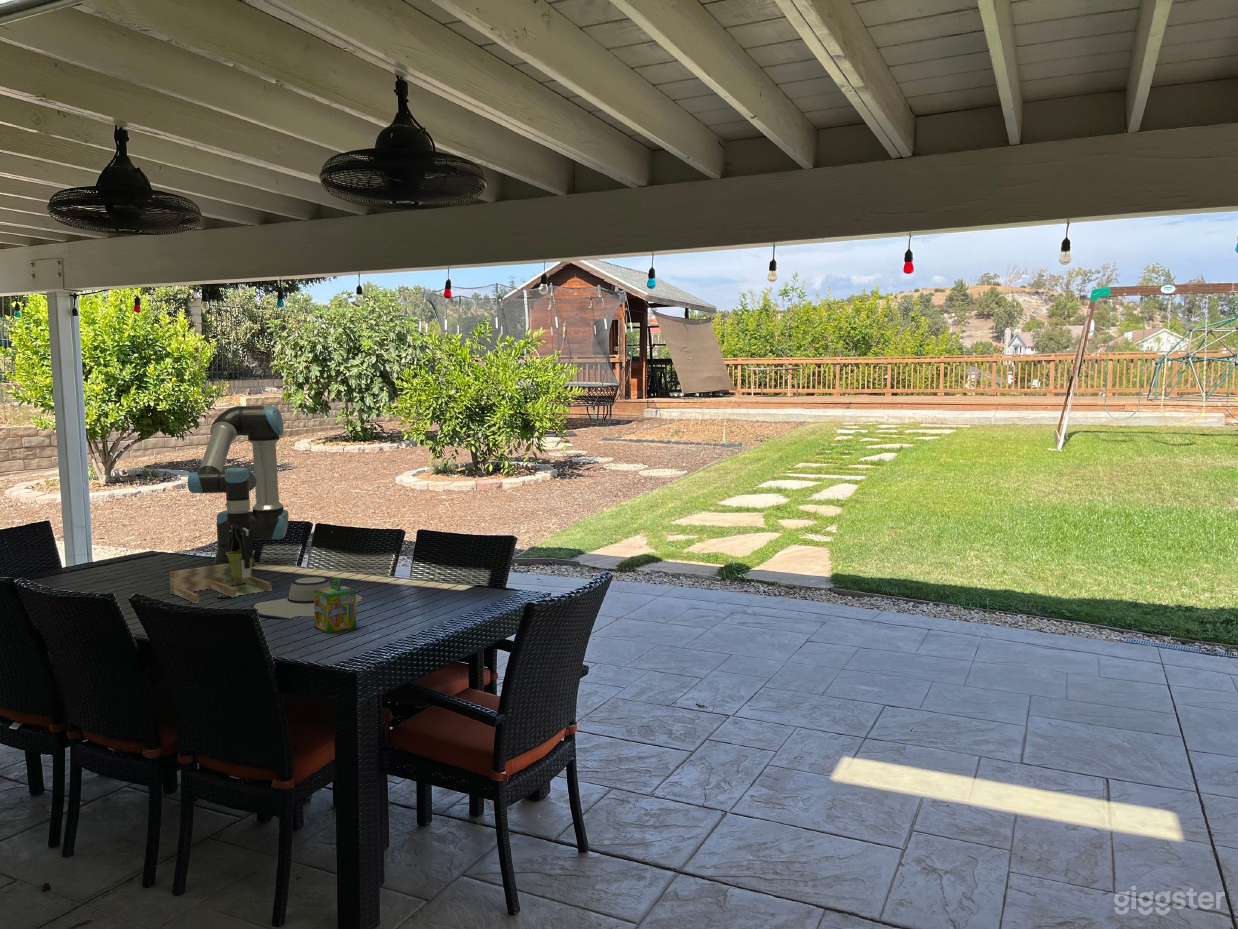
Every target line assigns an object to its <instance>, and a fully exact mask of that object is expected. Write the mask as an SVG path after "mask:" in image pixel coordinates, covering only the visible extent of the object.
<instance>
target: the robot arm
mask: <svg viewBox="0 0 1238 929" xmlns="http://www.w3.org/2000/svg"><path fill="white" fill-rule="evenodd" d="M209 430H210V438H209V439H208V440H209V441H208V444H207V446H206V449H205V452H204V455H203V457H202V460H201V463H200V467H199V469H198V472H197V471H195V472H190V473H189V474H188V476H187V487H188V488H187V489H188V491H189V492H190V493H192V494H201V495H203V494H223V493H225V499H226V503H225V505H224V506H225V507H226V510H222V511H220V512H218V513H217V515H216V523H215V525H216V539H217V550H216V554H215V558H214V560H213V566H215V565H222V564H229V559H228V556H227V555H226V553H227V552H231V551H239V550H241V553H242V558H241V562H242V578H248V577H251V576H252V571H251V569H250V559H251V558H253V560H252V567H254V566H255V565H256V559H255V556H253V551H252V550H253V545H252V541H260V540H261V541H262V540H264V541H265V540H271V541H273V540H278V539H279V540H280V539H283V538H285V536H286V534H287V530H288V526H289V511H288V509H287V510H286V509H284V504H283V503H281V502H280V495H279V493H280V492H279V478H278V477H279V476H278V460H277V445H276V444H277V443H278V442H279V440H280V436H282V435H283V434H284V422H283V415H282V413H281V411H280V409H279V408H278V407H277V406H274V405H243V406H242V405H237V406H233V407H230V408H228V409H226V410H225V411H224V410H223V412H221V413H220V414H219V415H218V416H217V417H216V418H215V419H214V420H213V422H212V424H211V426H210V429H209ZM239 436H242V437H243V436H247V440H248V442H249V443H251V445H252V457H253V470H254V472H253V471H250V470H249V469H248V468H246V467H229V468H227V469H225V471H223V469H224V466H225V463H226V461H227V458H228V455H229V454H228V453H229V450H230V448H231V445H232V442H233V441H235V439H236V438H237V437H239ZM254 488H255V489H254ZM253 490H255V491H254V492H255V504H254V505H253V506H252V511H251V500H250V492H251V491H253ZM253 565H254V566H253Z"/></svg>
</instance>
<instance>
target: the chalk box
mask: <svg viewBox="0 0 1238 929" xmlns="http://www.w3.org/2000/svg"><path fill="white" fill-rule="evenodd" d="M336 582H337V585H336ZM341 584H342V578H339V577H336V576H334V577H333V579H332V581H331V587H328V588H321V589H315V590H314V617H313V618H314V619H313V620H314V624H313V625H314V628H317V629H319V630H321V631H323V632H325V633H328V634H330V633H329V632H331V633H334V632H340V631H346V630H348V629H349V630H351V629H356V628H357V606H356V594H357V591H356V589H354V588H351V587H350V586H349V587H348V586H346V585H341Z"/></svg>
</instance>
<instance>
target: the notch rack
mask: <svg viewBox="0 0 1238 929" xmlns="http://www.w3.org/2000/svg"><path fill="white" fill-rule="evenodd" d="M243 583H245V584H243ZM238 584H239V585H238ZM232 585H233V586H232ZM169 587H170V589H169V590H170V595H171V594H175V595H178V596H180V597H182V598H185V599H187V600H189V601H192V603H191V604H193V603H199V604H200V595H199V594H197V593H194V591H196V592H200V591H199V590H202V591H207V590H206V589H208V590H211V589H212V590H211V591H214V590H215V591H214V592H216V591H217V593H219V592H220V593H219V594H221V593H223V594H222V595H224V594H225V596H227V595H228V596H227V597H229V596H230V598H231V599H235V598H234V597H236V598H237V597H240V596H239V595H242V596H246V595H247V594H248V595H253V594H252V593H254V594H258V592H259V593H264V591H265V592H267V591H268V593H270V592H269V591H271V592H272V591H273V590H272V588H273V587H272V583H271V582H269V581H268V580H267V581H266V580H264V579H260V578H258V577H255V576H252V575H251V577H248V578H236V577H234V578H233V577H232V572H231V567H230V563H229V564H222V565H215V566H214V565H208V566H202V567H195V568H190V569H189V568H188V569H179V570H174V571H169ZM175 595H174V596H175ZM180 597H179V598H180ZM182 598H181V599H182ZM189 601H188V602H189Z"/></svg>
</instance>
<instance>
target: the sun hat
mask: <svg viewBox="0 0 1238 929" xmlns="http://www.w3.org/2000/svg"><path fill="white" fill-rule="evenodd" d="M331 586H332V584H331V583H330V581H329V580H328V579H327V578H326V577H318V576H317V577H315V576H313V577H302V578H301V577H300V578H298V579H295V580H293V581H292V582H291V586H290V589H289V593H288V597H286V599H285V598H281V599H275V600H273V599H272V600H267V601H260V602H256V603H253V604H251V606H250V609H251V608H256V609H258V612H259V614H260V616H259V617H266V618H275V619H282V620H290V619H289V618H292V617H295V616H314V590H315V589H321V588H328V587H331ZM360 595H361V594H358V593H356V603H357V602H358V601H361V599H362V598H363V597H361V596H360Z"/></svg>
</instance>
